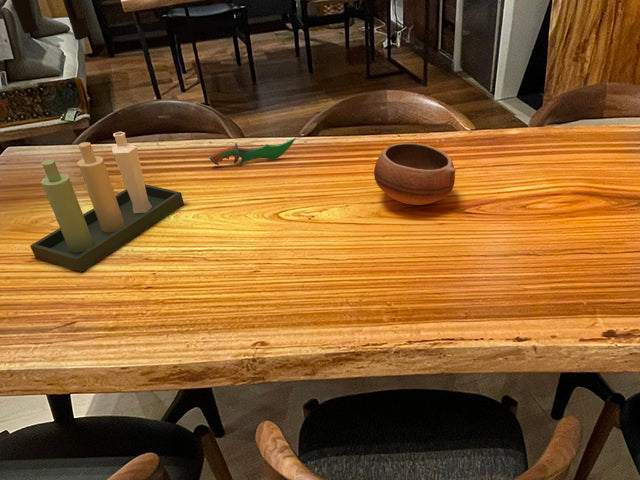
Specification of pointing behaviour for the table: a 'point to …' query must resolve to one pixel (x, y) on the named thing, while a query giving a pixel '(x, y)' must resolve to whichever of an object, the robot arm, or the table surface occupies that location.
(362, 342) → the table surface
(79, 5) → the robot arm
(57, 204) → the sage bottle
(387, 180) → the bowl
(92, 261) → the tray
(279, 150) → the knife
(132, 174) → the perfume bottle
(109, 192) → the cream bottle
